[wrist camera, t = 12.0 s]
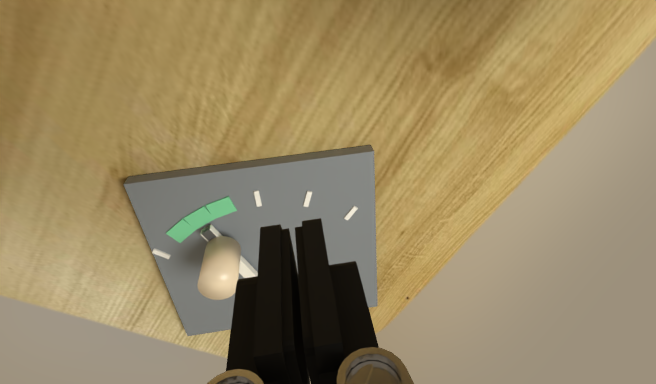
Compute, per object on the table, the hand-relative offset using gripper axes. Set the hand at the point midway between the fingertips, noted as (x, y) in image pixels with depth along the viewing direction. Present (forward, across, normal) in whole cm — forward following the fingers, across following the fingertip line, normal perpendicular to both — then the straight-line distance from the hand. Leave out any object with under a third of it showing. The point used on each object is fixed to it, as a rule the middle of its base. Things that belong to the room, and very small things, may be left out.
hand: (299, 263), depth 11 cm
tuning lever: (+25, +7, +22) cm, 34 cm away
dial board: (+26, +5, +21) cm, 34 cm away
